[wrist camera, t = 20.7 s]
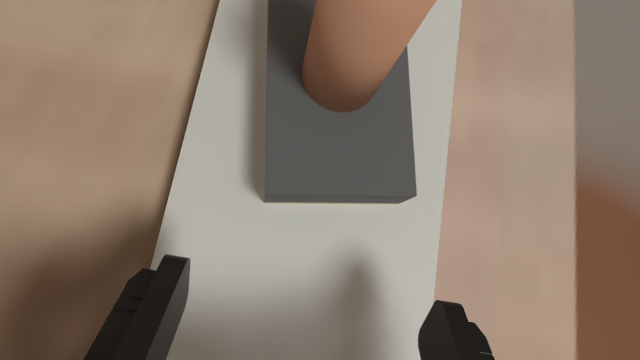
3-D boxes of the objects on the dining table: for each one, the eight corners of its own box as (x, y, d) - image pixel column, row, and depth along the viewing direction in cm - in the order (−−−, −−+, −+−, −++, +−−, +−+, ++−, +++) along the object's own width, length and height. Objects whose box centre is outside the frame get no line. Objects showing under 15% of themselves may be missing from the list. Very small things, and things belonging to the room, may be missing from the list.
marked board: (405, 437, 17) (418, 453, 16) (125, 401, 16) (111, 415, 15) (455, -50, 23) (468, -72, 22) (254, -105, 22) (253, -131, 21)
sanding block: (397, 204, 18) (513, 153, 10) (264, 203, 17) (268, 146, 9) (387, 9, 20) (475, -169, 12) (267, -1, 19) (273, -200, 11)
